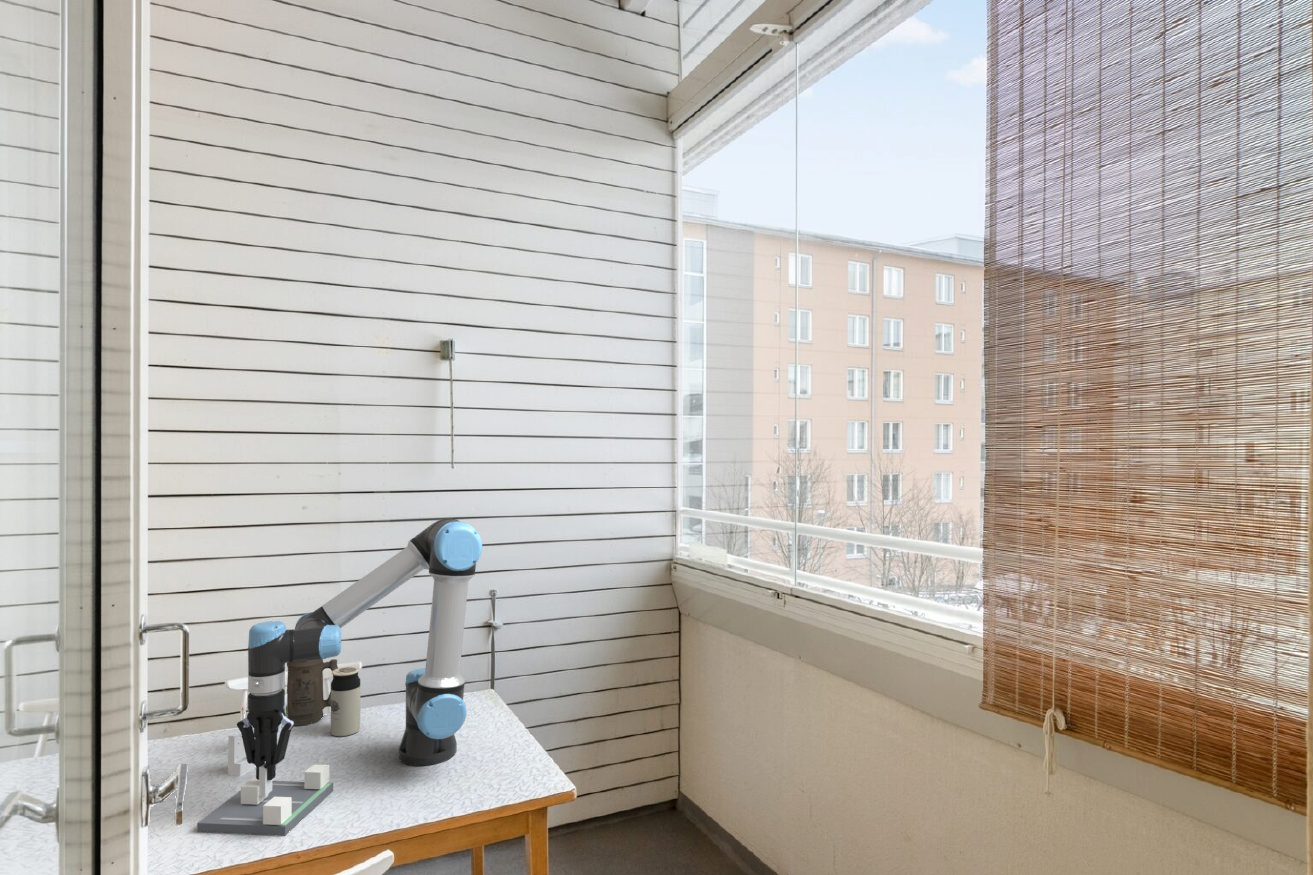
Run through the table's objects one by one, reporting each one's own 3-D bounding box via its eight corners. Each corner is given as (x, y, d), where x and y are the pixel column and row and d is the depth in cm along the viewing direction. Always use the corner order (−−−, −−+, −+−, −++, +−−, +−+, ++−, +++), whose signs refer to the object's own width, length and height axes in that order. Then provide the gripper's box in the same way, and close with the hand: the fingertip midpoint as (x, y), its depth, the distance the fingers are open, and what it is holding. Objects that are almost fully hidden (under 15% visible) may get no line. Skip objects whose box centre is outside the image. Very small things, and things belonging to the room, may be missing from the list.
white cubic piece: (329, 781, 175) (329, 764, 175) (320, 789, 171) (320, 772, 171) (313, 780, 176) (313, 764, 176) (304, 788, 172) (304, 771, 172)
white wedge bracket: (214, 772, 179) (228, 735, 184) (240, 776, 188) (253, 741, 192) (227, 774, 179) (240, 736, 183) (253, 778, 187) (265, 742, 192)
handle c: (291, 815, 159) (291, 797, 159) (280, 824, 155) (280, 806, 155) (274, 814, 160) (274, 796, 160) (263, 824, 156) (263, 805, 156)
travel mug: (354, 724, 217) (354, 664, 217) (364, 731, 211) (364, 670, 211) (326, 731, 211) (327, 669, 212) (336, 739, 206) (336, 676, 206)
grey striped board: (333, 790, 175) (333, 782, 175) (285, 835, 155) (285, 825, 155) (254, 788, 177) (254, 779, 177) (197, 832, 157) (197, 822, 157)
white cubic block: (268, 795, 168) (268, 778, 168) (257, 804, 164) (257, 786, 164) (251, 795, 168) (251, 778, 168) (240, 803, 164) (240, 786, 164)
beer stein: (280, 729, 213) (285, 661, 213) (283, 716, 223) (288, 651, 223) (337, 724, 219) (342, 658, 220) (337, 712, 229) (342, 649, 229)
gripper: (228, 695, 163) (227, 800, 163) (284, 697, 162) (283, 802, 162) (249, 684, 170) (248, 784, 170) (302, 685, 169) (301, 786, 169)
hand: (265, 792), depth 166 cm, fingers closed
